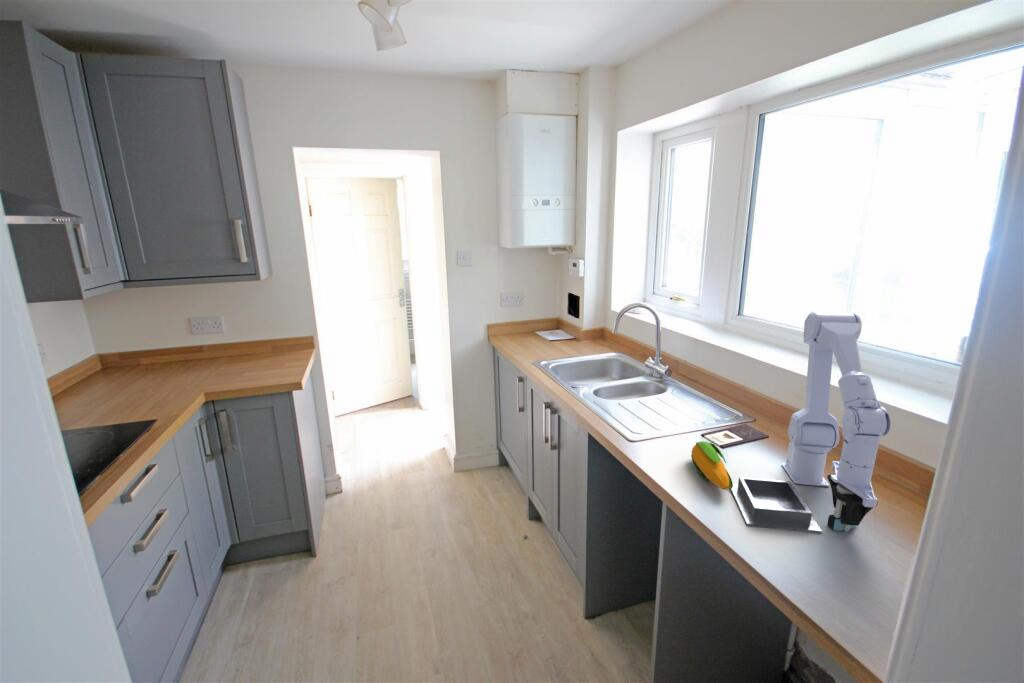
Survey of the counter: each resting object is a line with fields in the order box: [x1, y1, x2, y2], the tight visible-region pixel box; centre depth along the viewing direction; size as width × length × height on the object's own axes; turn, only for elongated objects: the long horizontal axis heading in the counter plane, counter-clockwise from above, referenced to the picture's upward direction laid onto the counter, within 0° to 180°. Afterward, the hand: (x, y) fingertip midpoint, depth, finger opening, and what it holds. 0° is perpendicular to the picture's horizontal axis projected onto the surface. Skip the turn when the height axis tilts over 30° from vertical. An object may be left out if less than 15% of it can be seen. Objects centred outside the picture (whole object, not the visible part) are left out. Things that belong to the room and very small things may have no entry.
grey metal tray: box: [730, 476, 823, 534], centre depth 107 cm, size 16×15×4 cm
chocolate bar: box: [700, 423, 770, 450], centre depth 141 cm, size 9×1×18 cm
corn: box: [690, 440, 734, 490], centre depth 119 cm, size 7×8×20 cm
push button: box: [827, 483, 854, 532], centre depth 99 cm, size 7×5×10 cm
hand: (845, 515), depth 99 cm, fingers closed on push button, 5 cm apart
